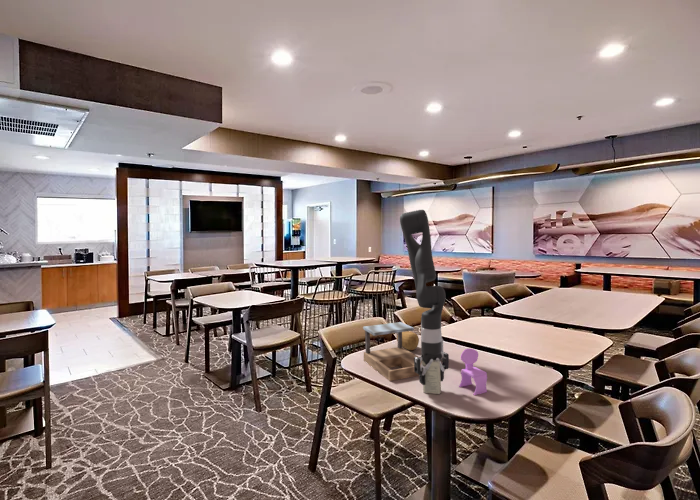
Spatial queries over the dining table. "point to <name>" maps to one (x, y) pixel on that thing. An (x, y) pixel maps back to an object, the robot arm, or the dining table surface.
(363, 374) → the dining table surface
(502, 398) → the dining table surface
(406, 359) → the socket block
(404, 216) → the robot arm
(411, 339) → the potato
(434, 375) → the skincare box
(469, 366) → the chair
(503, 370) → the dining table surface
